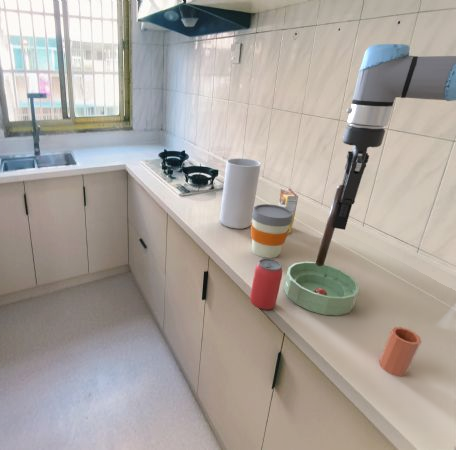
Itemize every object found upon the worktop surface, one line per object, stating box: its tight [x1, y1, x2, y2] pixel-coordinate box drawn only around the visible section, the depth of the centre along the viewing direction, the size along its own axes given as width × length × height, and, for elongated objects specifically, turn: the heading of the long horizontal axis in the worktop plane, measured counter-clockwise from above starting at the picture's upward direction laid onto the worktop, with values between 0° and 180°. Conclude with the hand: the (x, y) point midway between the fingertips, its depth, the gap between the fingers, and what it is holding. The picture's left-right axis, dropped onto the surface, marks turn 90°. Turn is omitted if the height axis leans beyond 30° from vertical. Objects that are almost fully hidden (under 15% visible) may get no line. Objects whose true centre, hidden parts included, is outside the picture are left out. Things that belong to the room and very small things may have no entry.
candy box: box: [277, 188, 299, 234], centre depth 130 cm, size 9×4×15 cm, turn 177°
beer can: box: [249, 257, 283, 311], centre depth 87 cm, size 7×7×12 cm
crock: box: [378, 326, 422, 377], centre depth 68 cm, size 5×5×9 cm
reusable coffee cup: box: [250, 203, 292, 259], centre depth 112 cm, size 12×13×15 cm
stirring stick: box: [315, 183, 344, 266], centre depth 83 cm, size 2×2×22 cm
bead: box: [314, 288, 327, 296], centre depth 89 cm, size 3×3×3 cm
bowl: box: [283, 261, 360, 317], centre depth 91 cm, size 17×17×6 cm
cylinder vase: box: [219, 157, 262, 230], centre depth 132 cm, size 12×12×25 cm
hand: (338, 225), depth 82 cm, fingers closed on stirring stick, 2 cm apart
